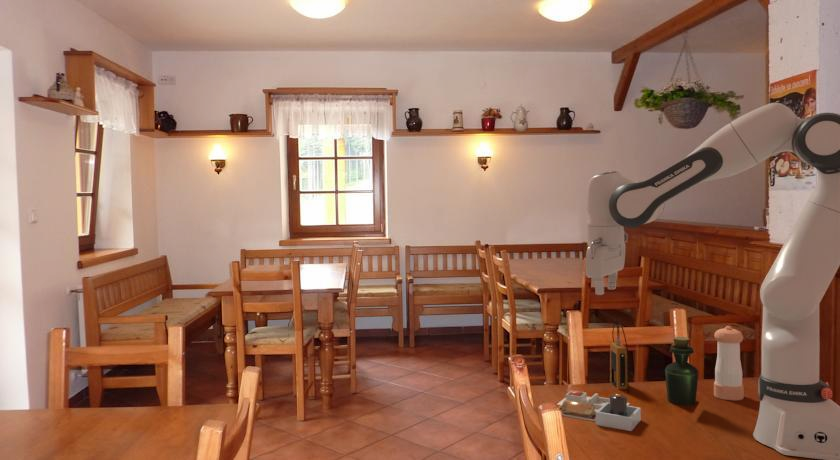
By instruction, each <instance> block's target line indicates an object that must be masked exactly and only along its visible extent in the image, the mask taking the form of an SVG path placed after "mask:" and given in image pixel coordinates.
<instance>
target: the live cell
mask: <svg viewBox="0 0 840 460" xmlns="http://www.w3.org/2000/svg"><path fill="white" fill-rule="evenodd" d="M561 413H562V414H567V415H573V416H579V417H584V418H590V419H592V417H594V415H596V413H595V407H594V405H593V404H588V403H582V402H576V401H570V400H564V402H563V404H562V408H561Z"/></svg>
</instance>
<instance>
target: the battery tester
mask: <svg viewBox="0 0 840 460" xmlns="http://www.w3.org/2000/svg"><path fill="white" fill-rule="evenodd" d="M571 391H574V390H570V391H568V392H567V393H565V397H564V398H563V399H562V400H560V401H559V402H558V403H556V405H557V406H560V405H562V404H563V402H564V400H570V401H576V402H582V403H588V404H593V405H594V407H595V411H598V410H599V409H600V408H601V407H602V406H603V405H604V404H605V403H606V402H608V403H610V397H601V396H599V393H594V394H593V395H592V396H588V394H587V392H584V391H581V392H582V395H581V396H574V395H571ZM630 404H631V403H630V402H627V406H630Z"/></svg>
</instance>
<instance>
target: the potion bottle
mask: <svg viewBox="0 0 840 460" xmlns="http://www.w3.org/2000/svg"><path fill="white" fill-rule="evenodd" d="M689 341H690V338H689V337H686V336H674V337H673V342H674V345H671V346H670V348H669V352H670V353H672V354H673V356H674V359H675V361H673V362H671V363H669V364H667V365H666V367H665V369H664V374H665V385H666V387H665V388H666V394H667V395H666V396H667V402H669V403H670V404H673V405H676V406H684V407H685V406H694V405H696V401H697V400H696V399H697V392H698V381H699V380H698V379H699V370H698V369H697V367H696V366H694V365H693V364H691V363H690V362H688V361H689V357H690V355H692V354H693V353H695V352H694V348H693V347H692V346H690V345H689V343H690V342H689Z"/></svg>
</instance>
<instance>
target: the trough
mask: <svg viewBox="0 0 840 460" xmlns="http://www.w3.org/2000/svg"><path fill="white" fill-rule="evenodd" d="M558 407H559V408H560V409H559V410H562V405H558ZM595 414H596V411H595ZM562 415H563V416H562V417H566V418H572V419H577V420H578V419H579V420H585V421H589V422H595V423H596V416H595V417H594V418H585V417H579V416H574V415H568V414H563V413H562Z"/></svg>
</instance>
